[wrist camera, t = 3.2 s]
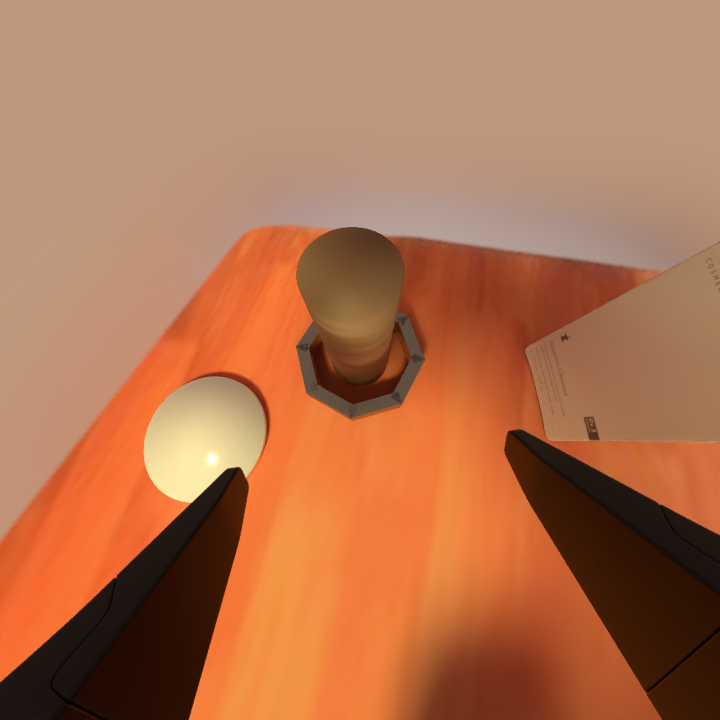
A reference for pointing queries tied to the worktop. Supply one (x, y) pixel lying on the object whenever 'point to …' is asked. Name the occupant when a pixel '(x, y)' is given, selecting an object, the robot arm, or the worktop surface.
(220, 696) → the worktop surface
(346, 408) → the steel ring
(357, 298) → the walnut peg
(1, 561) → the worktop surface
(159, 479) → the cream disc
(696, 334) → the skincare box
